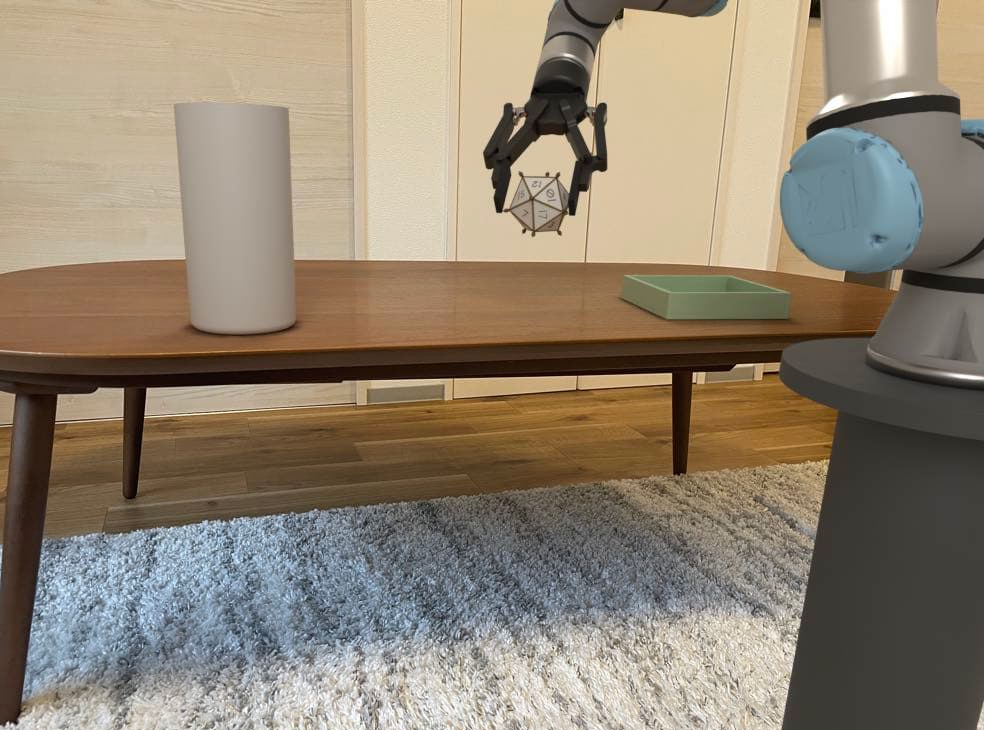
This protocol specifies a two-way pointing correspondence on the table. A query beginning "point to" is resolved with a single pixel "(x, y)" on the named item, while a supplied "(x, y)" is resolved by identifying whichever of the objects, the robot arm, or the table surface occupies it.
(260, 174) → the cylinder vase
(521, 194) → the game die
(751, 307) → the tray
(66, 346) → the table surface
